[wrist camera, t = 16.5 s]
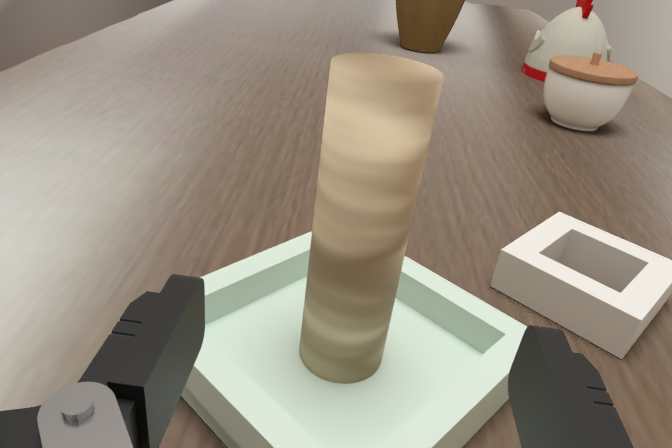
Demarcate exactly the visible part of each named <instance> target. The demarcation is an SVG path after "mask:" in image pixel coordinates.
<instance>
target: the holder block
mask: <svg viewBox="0 0 672 448" xmlns="http://www.w3.org/2000/svg"><path fill="white" fill-rule="evenodd" d="M560 263H561V264H560ZM562 264H563V265H562ZM579 272H580V273H579ZM581 273H582V274H581ZM583 274H584V275H583ZM585 275H586V276H585ZM587 276H588V277H587ZM589 277H590V278H589ZM591 278H592V279H591ZM593 279H594V280H593ZM595 280H596V281H595ZM597 281H598V282H597ZM599 282H600V283H599ZM601 283H602V284H601ZM603 284H604V285H603ZM490 286H491V287H493V288H495V289H496V290H498V291H500V292H502V293H504V294H505V295H507V296H509V297H511V298H513V299H514V300H516V301H518V302H520V303H522V304H523V305H525V306H527V307H529V308H530V309H532V310H534V311H536V312H538V313H539V314H541V315H543V316H545V317H547V318H548V319H550V320H552V321H554V322H556V323H557V324H559V325H561V326H563V327H565V328H566V329H568V330H570V331H572V332H574V333H575V334H577V335H579V336H581V337H582V338H584V339H586V340H588V341H590V342H591V343H593V344H595V345H597V346H599V347H600V348H602V349H604V350H606V351H608V352H609V353H611V354H613V355H615V356H617V357H618V358H620V359H622V358H623V357H624V356H625V354H626V353H627V352H628V351H629V349H630V348H631V347H632V345H633V344H634V343H635V341H636V340H637V339H638V338H639V336H640V335H641V334H642V332H643V331H644V330H645V328H646V327H647V326H648V325H649V323H650V322H651V321H652V319H653V318H654V317H655V315H656V314H657V313H658V312H659V310H660V309H661V308H662V306H663V305H664V304H665V302H666V301H667V299H668V297H669V295H670V294H671V292H672V260H670V259H668V258H665V257H663V256H661V255H658V254H656V253H654V252H651V251H649V250H647V249H644V248H642V247H640V246H637V245H635V244H633V243H631V242H628V241H626V240H624V239H621V238H619V237H617V236H614V235H612V234H610V233H607V232H605V231H603V230H600V229H598V228H596V227H593V226H591V225H589V224H586V223H584V222H582V221H579V220H577V219H575V218H572V217H570V216H568V215H565V214H563V213H561V212H558V213H557V214H555V215H554V216H552V217H551V218H549V219H547V220H546V221H544V222H543V223H541V224H540V225H538V226H537V227H535V228H534V229H532V230H531V231H529V232H527V233H526V234H524V235H523V236H521V237H520V238H518V239H517V240H515V241H514V242H512V243H510V244H509V245H507V246H506V247H504V248H503V249H501V252H500V255H499V258H498V261H497V265H496V268H495V271H494V274H493V277H492V281H491V284H490ZM620 292H621V293H620Z"/></svg>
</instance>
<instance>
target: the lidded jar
mask: <svg viewBox="0 0 672 448" xmlns="http://www.w3.org/2000/svg"><path fill="white" fill-rule="evenodd" d="M601 56H602V53H600V52H594V53H593V56H592V58H588V57H580V56H570V55H559V56H554V57H552V58H551V59H550V61H549V68H548V71H547V75H546V78H545V84H544V93H543V96H544V103H545V106H546V109H547V111H548V112H549V114H550V115H551V120H552V121H553V122H554V123H556V124H558V125H560V126H563V127H566V128H570V129H574V130H579V131H595V130H597V129H598V127H600V126H602V125H604V124H606V123H608V122H610V121H611V120H612V119H613V118H615V117H616V116H617V114H618V113H619V112H620V111H621V110H622V108H623V107H624V105H625V103H626V102H627V100H628V98H629V96H630V93H631V91H632V88H633V86H634V84H635V83H636V81H637V78H638V74H637V73H636V72H634V71H633V70H632V69H629V68H627V67H624V66H622V65H618V64H615V63H611V62H607V61H603V60H600V59H601Z"/></svg>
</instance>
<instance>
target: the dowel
mask: <svg viewBox="0 0 672 448" xmlns="http://www.w3.org/2000/svg"><path fill="white" fill-rule="evenodd" d="M443 77H444V76H443V74H442V73H441V72H440V71H439V70H437V69H436V68H434V67H432V66H429V65H427V64H424V63H421V62H418V61H415V60H411V59H407V58H402V57H397V56H391V55H384V54H375V53H347V54H341V55H337V56H335V57H333V58H332V59H331V64H330V73H329V82H328V92H327V101H326V110H325V119H324V128H323V137H322V146H321V155H320V164H319V173H318V182H317V191H316V200H315V209H314V218H313V227H312V237H311V246H310V255H309V264H308V273H307V282H306V291H305V300H304V309H303V318H302V327H301V336H300V345H299V354H300V357H301V360H302V362H303V364H304V365H305V366H306V368H307V369H308V370H309V371H311V372H312V373H313V374H315V375H316V376H318V377H320V378H322V379H324V380H327V381H330V382H334V383H341V384H349V383H357V382H360V381H363V380H366V379H368V378H369V377H371V376H372V375H373V374H375V373H376V371H377V370H378V369H379V367H380V364H381V361H382V356H383V352H384V347H385V343H386V338H387V334H388V329H389V324H390V320H391V315H392V311H393V306H394V302H395V297H396V292H397V288H398V283H399V279H400V274H401V270H402V265H403V260H404V256H405V251H406V247H407V242H408V238H409V233H410V228H411V224H412V219H413V215H414V210H415V206H416V201H417V196H418V192H419V187H420V183H421V178H422V174H423V169H424V164H425V160H426V155H427V151H428V146H429V142H430V137H431V132H432V128H433V123H434V119H435V114H436V110H437V105H438V100H439V96H440V91H441V87H442V82H443Z"/></svg>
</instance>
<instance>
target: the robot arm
mask: <svg viewBox="0 0 672 448" xmlns="http://www.w3.org/2000/svg"><path fill="white" fill-rule="evenodd" d="M204 333H205V286H204V280H203V278H198V277H191V276H184V275H177V274H172V275H171V276H170V277H169V279H168V281H167V282H166V284H165V286H164V287H163V289H162V291H161V292H160V293H156V292H148V291H147V292H146V293H144V294H143V295H141V296H140V297H139V298H137V299H136V300H134V301H133V302H131V303H130V304H129V306H128V307H127V309H126V310H125V312H124V313H123V315H122V316H121V318H120V321H119V322H117V324H116V325H115V327H114V329H113V330H112V333H111V335H109V336H108V338H107V339H106V341H105V342H104V344H103V345H102V347H101V348H100V350H99V351H98V353H97V354H96V356H95V357H94V359H93V360H92V362H91V363H90V365H89V366H88V368H87V369H86V371H85V372H84V374H83V375H82V377H81V378H80V380H79V381H78V383H75V384H71V385H68V386H66V387H63V388H61V389H59V390H58V391H56V392H55V393H53V394H52V395H51V396H50V397H48V398H47V399H46V401H45V402H44V403H43V404H42V405H40V406H36V407H31V408H23V409H15V410H7V411H0V448H159V445H160V443H161V441H162V438H163V436H164V434H165V431H166V429H167V427H168V424H169V422H170V420H171V417H172V415H173V413H174V410H175V408H176V406H177V403H178V401H179V399H180V396H181V394H182V392H183V389H184V387H185V385H186V382H187V380H188V378H189V375H190V373H191V371H192V368H193V366H194V364H195V361H196V359H197V357H198V354H199V352H200V350H201V347H202V343H203V339H204ZM508 395H509V399H510V403H511V407H512V411H513V415H514V419H515V423H516V427H517V431H518V435H519V439H520V443H521V447H522V448H634V447H633V445H632V443H631V441H630V439H629V437H628V434H627V432H626V430H625V428H624V426H623V424H622V421H621V419H620V417H619V415H618V413H617V411H616V409H615V408H613V402H612V400H611V398H610V396H609V393H607V392H606V387H605V385H604V383H603V381H602V378H601V376H600V374H599V372H598V370H597V369H596V368H595V367H594V366H593V365H592V364H591V363H590V362H589V361H588V360H587V359H586V358H585V356H584V355H583V354H580V353H573V352H572V350H571V348H570V346H569V343H568V341H567V339H566V336H565V334H564V332H563V331H562V330H560V329H554V328H547V327H539V326H532V325H529V326H528V327H527V328H526V330H525V332H524V334H523V337H522V339H521V342H520V345H519V347H518V350H517V352H516V355H515V358H514V360H513V363H512V366H511V368H510V371H509V376H508Z"/></svg>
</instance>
